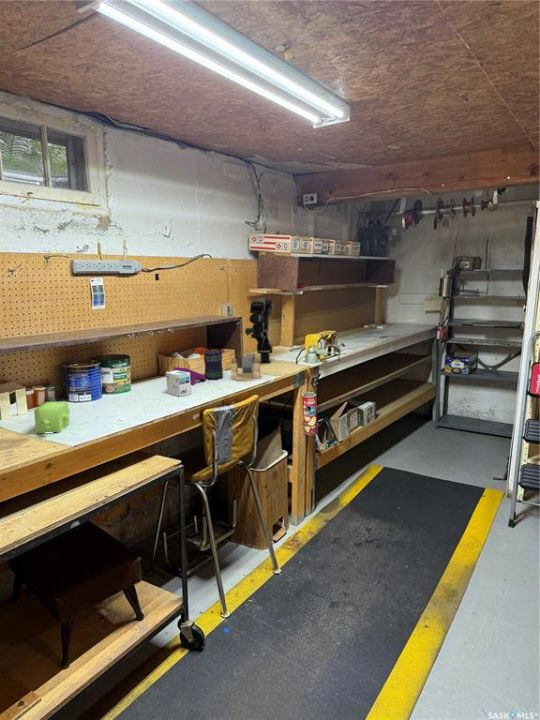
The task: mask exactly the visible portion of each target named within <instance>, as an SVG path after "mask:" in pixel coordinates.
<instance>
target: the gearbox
mask: <svg viewBox="0 0 540 720" xmlns="http://www.w3.org/2000/svg"><path fill="white" fill-rule="evenodd" d="M33 411H34V412H33V414H34V422H35V434H37V433H45V432H60V431H61V430H62V429H63V428H65V427H66V426H67V425H68V424H69V425H70V412H71V410H70V408H69V402H68V401H45V402H43V403H42V404H40V405H39V406H37V407H36V408H35V409H34V410H33ZM69 425H68V426H69ZM68 426H67V427H68ZM67 427H66V428H67ZM66 428H65V429H66ZM61 432H62V431H61ZM61 432H60V433H61Z"/></svg>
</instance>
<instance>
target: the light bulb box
mask: <svg viewBox="0 0 540 720" xmlns="http://www.w3.org/2000/svg"><path fill="white" fill-rule="evenodd" d="M165 376H166V388H167V389H166V393H167V395H171V394H172V395H171V396H174V395H175V396H176V397H178V396H179V397H180V398H181V396H182V397H186V396H189V395H192V386H191V383H190V373H189V372H183V371H178V370H176V371H173V370H171V371H166V372H165ZM185 395H186V396H185Z"/></svg>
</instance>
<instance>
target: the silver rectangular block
mask: <svg viewBox="0 0 540 720" xmlns="http://www.w3.org/2000/svg"><path fill="white" fill-rule="evenodd" d="M255 358H256V353H245V355H244V356H243V358H242V360H241V361H242V362H241V365H242V373H254V364H253V363H254V359H255Z"/></svg>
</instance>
